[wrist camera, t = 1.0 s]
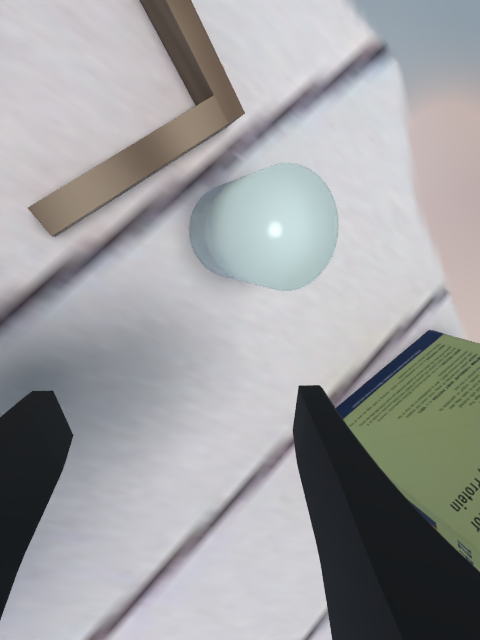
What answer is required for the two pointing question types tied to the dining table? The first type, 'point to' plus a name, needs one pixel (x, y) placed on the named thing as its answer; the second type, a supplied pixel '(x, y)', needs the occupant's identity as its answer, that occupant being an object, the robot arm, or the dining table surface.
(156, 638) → the dining table surface
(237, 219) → the dome-topped pale cylinder
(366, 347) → the dining table surface
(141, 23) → the dining table surface
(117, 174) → the brown square frame
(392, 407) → the protein box
